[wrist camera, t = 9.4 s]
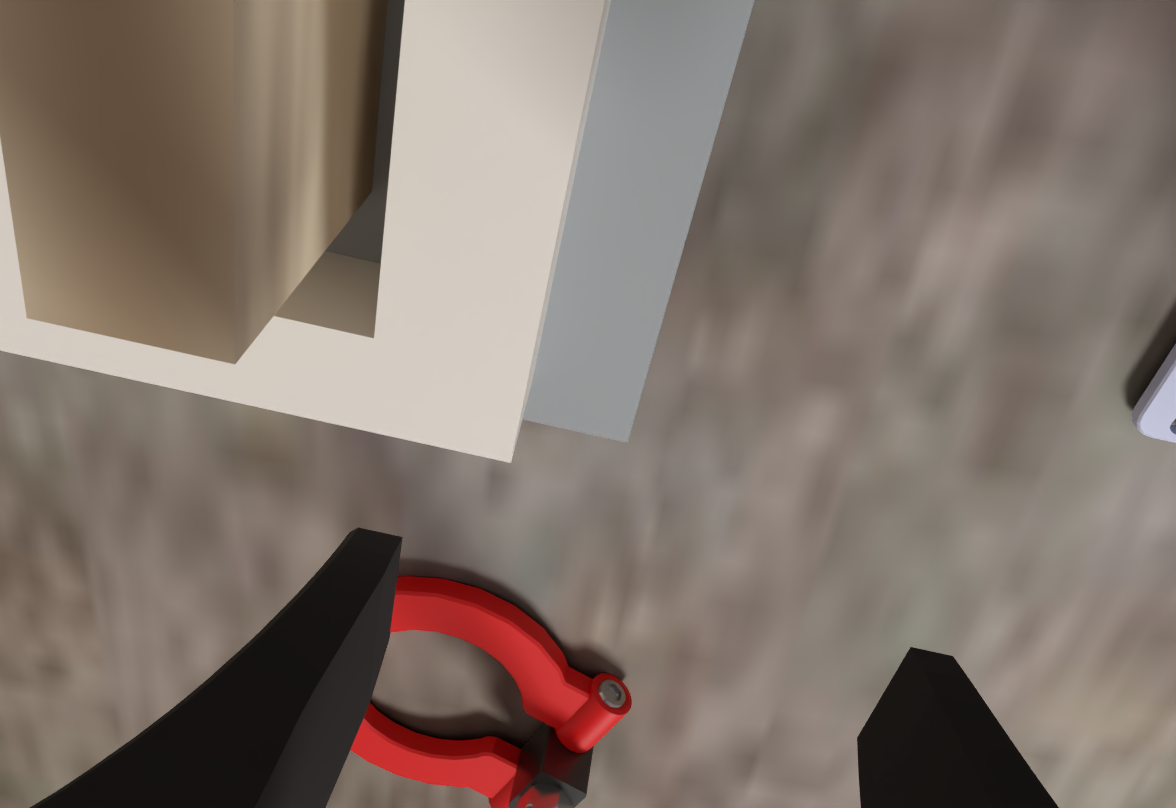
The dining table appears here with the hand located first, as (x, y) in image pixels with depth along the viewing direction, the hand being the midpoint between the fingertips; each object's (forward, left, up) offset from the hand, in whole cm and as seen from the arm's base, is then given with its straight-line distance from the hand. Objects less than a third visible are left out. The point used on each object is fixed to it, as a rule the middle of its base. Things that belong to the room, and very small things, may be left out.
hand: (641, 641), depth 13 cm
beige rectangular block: (+8, -4, -9) cm, 13 cm away
